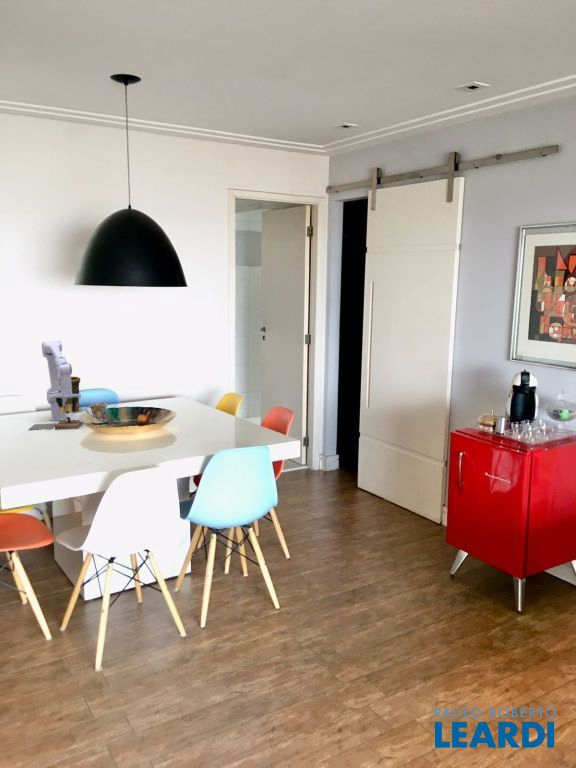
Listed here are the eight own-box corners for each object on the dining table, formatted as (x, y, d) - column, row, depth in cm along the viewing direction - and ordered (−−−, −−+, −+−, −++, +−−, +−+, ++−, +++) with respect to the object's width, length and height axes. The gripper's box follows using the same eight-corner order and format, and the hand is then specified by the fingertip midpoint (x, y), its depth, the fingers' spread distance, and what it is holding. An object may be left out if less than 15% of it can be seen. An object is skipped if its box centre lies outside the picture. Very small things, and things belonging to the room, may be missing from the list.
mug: (111, 421, 368) (109, 402, 367) (105, 425, 359) (104, 405, 357) (89, 421, 369) (88, 402, 367) (83, 425, 360) (82, 406, 358)
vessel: (85, 407, 405) (82, 375, 401) (79, 413, 391) (76, 380, 387) (61, 408, 404) (58, 376, 400) (54, 414, 390) (51, 381, 386)
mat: (34, 424, 363) (34, 424, 363) (57, 424, 364) (57, 423, 364) (28, 430, 351) (28, 429, 351) (51, 429, 352) (51, 428, 352)
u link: (64, 410, 360) (63, 404, 360) (75, 410, 361) (74, 404, 360) (60, 413, 352) (60, 407, 352) (71, 413, 353) (71, 407, 352)
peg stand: (60, 424, 363) (59, 415, 362) (83, 423, 364) (82, 414, 364) (55, 429, 352) (54, 420, 351) (78, 428, 353) (77, 419, 352)
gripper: (50, 388, 350) (52, 413, 352) (78, 387, 351) (80, 412, 353) (53, 386, 357) (55, 410, 359) (81, 385, 358) (83, 409, 360)
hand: (68, 411), depth 357 cm, fingers closed on u link, 6 cm apart
